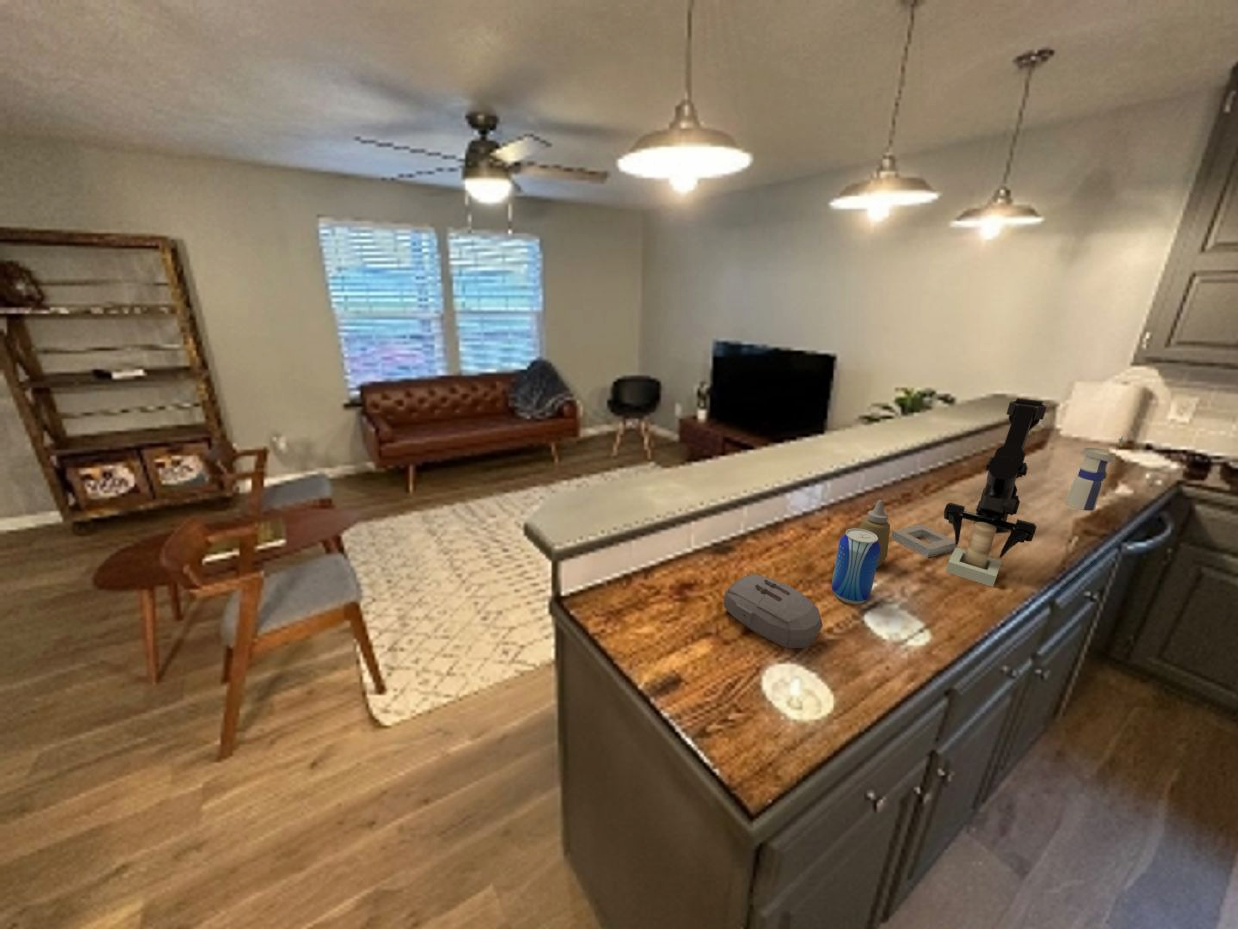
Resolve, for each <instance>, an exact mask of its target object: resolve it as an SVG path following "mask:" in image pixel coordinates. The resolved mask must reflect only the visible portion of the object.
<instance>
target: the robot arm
mask: <svg viewBox="0 0 1238 929" xmlns="http://www.w3.org/2000/svg"><path fill="white" fill-rule="evenodd" d="M1047 408H1048V405H1045V404H1044V400H1036V399H1028V398H1019V397H1017V398H1016V400H1014V401H1012V400H1010V401H1009V403H1008V407H1007V410H1006V415H1008V420H1009V423H1010V426H1009V429H1008V432H1007V435H1006V438H1005V441H1004V444H1003V445H1001V446H999V447H998V448H996V450H995V452H994V455H993V456H990V458H989V459H988V462H987V463H986V467H985V471H987V476H986V483H985V487H983V490H982V493H981V497H980V500H979V501H978V504H977V506H976V509H975V511H976V512H975V513H974V512H971V511H966V510H965V507H966V506H965V505H962V504H961V505H960V504H957V503H953V502H948V503H946V505H945V507H944V510H943V519H944V520H946V521H948V524H950V525H952V528H953V531H954V540H955V545H959V542H960V536H961V531H962V525H963V519H965V520H968V521H972V522H973V525H974V524H975V523H976V522H984V523H988V524H991V525H993V526H995V527H996V528H997V529H996V533H1002V532H1004V533H1005V532H1009V531H1010V534H1009V535H1008V537H1007V538H1006V541H1005V543H1004V545H1003V546H1002V548H1001V551H1000V555H999V557H998V559H999V558H1000V559H1003V557H1004V556H1005V555H1006V554H1007V552H1009V551H1010V550H1011V549H1012V548H1013V547H1014V546H1016V545H1017V544H1018V543H1021V544H1023V543H1025V542H1032V541H1033V538H1034V536H1035V534H1036V533H1035V532H1036V530H1037V525H1036V524H1035V523H1034V522H1032V521H1031V522H1030V521H1027V520H1022V519H1018V518H1017V519H1016V522H1015V523H1013V522H1010V521H1007V520H1008V516H1009V515H1010V516H1013V515H1017V514H1018V510H1019V506H1020V503H1021V501H1020V500H1019V496H1020V495H1017V492H1018V487H1017V485H1016V480H1017V479H1019V478H1023V476H1027V472H1028V470H1029V469H1028V468H1029V467H1028V464H1027V462H1024V461H1025V458H1026V452H1025V451H1024V449H1025V445H1026V444H1027V443H1026V442H1027V439H1028V437H1029V432H1031V430H1033V429H1034V428H1035V427H1037V425H1039V423H1040V421H1041V420H1044V418H1045V415H1046V412H1047Z"/></svg>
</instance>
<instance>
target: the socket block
mask: <svg viewBox="0 0 1238 929" xmlns="http://www.w3.org/2000/svg"><path fill="white" fill-rule="evenodd" d="M891 531H892V532H891V537H890V539H891V540H893V541H895V542H896V543H898V544H901V546H905V547H907V548H908V549H910V550H912V551H913V552H916V553H918V554H919V555H921V556H923V557H925V558H927V559H928V558H931V557H935V556H940V555H942V554H947V553H951V552H954V550H955V548H958V545H959V544H958V545H955V539H953V538H952V537H951V538H950V537H948V536H947V535H944V534H942V533H940V532H938V531H936V530H934V529H931V528H929V527H927V526H925V525H923V524H917V525H911V526H907V527H903V528H899V529H898V528H897V529H895V530H891ZM919 538H921V539H924V540H926V541H928V542H929V543H927V542H925V541H923V540H921V539H919Z"/></svg>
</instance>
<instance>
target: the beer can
mask: <svg viewBox="0 0 1238 929" xmlns="http://www.w3.org/2000/svg"><path fill="white" fill-rule="evenodd" d="M838 543H839V544H838V547H837V554H836V559H835V563H834V568H833V569H834V570H833V574H832V581H831V585H830V586H831V588H830V589H831V590H832V592H833V595H834V596H835V597H836V598H837V599H838V600H840V601H842V602H844V603H846V604H852V605H861V604H864V603H865V602H866V601H868V600H869V599H871V594H872V590H873V586H874V581H875V577H876V576H875V575H876V571H877V563H878V559H879V554H880V549H881V548H880V545H879V543H878V537H877V536H876V535H875V534H874V533H872V532H870V531H867V530H864V529H860V528H856V527H855V528H850V529H849V528H848V529H846V531H845V534H844V535H843V536H841V537H840V539H839V542H838Z"/></svg>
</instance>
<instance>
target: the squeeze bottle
mask: <svg viewBox="0 0 1238 929" xmlns="http://www.w3.org/2000/svg"><path fill="white" fill-rule="evenodd" d="M884 506H885V503H884V500H883V499H878V500H877V502H876V504H875V506H874V508H873V509H870V510H869V511H867V516H866V517H864V518H863V519H862V520H861V523H860V527H859V529H864V530H867V531H870V532H872V533H874V534H875V535H876V536H877V537H878V543H879V545H880V548H881V549H880V554H879V559H878V563H877V568H878V569H879V567H881V565H882V564H883V563H884V562H885V560H886V558H887V557H888V551H889V541H890V532H891V531H890V530H891V524H890V523H889V522H888V519H889V515H888V513H886V512H885V507H884ZM877 568H876V569H877Z"/></svg>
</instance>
